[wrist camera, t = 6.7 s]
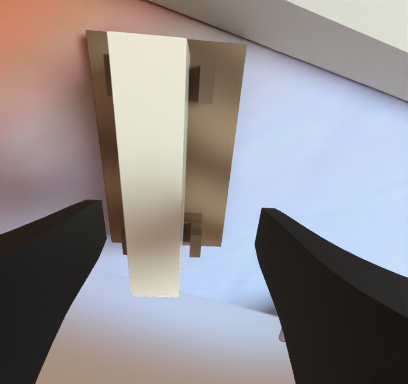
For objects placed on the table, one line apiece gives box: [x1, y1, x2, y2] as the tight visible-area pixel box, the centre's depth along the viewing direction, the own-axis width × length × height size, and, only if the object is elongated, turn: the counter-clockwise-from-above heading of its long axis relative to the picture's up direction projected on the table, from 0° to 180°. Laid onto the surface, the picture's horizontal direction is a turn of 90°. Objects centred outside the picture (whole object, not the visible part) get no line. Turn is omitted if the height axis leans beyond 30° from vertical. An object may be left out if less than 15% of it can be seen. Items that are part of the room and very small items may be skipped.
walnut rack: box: [86, 30, 247, 257], centre depth 16 cm, size 16×10×4 cm, turn 176°
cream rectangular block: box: [107, 31, 190, 297], centre depth 14 cm, size 14×3×5 cm, turn 176°
